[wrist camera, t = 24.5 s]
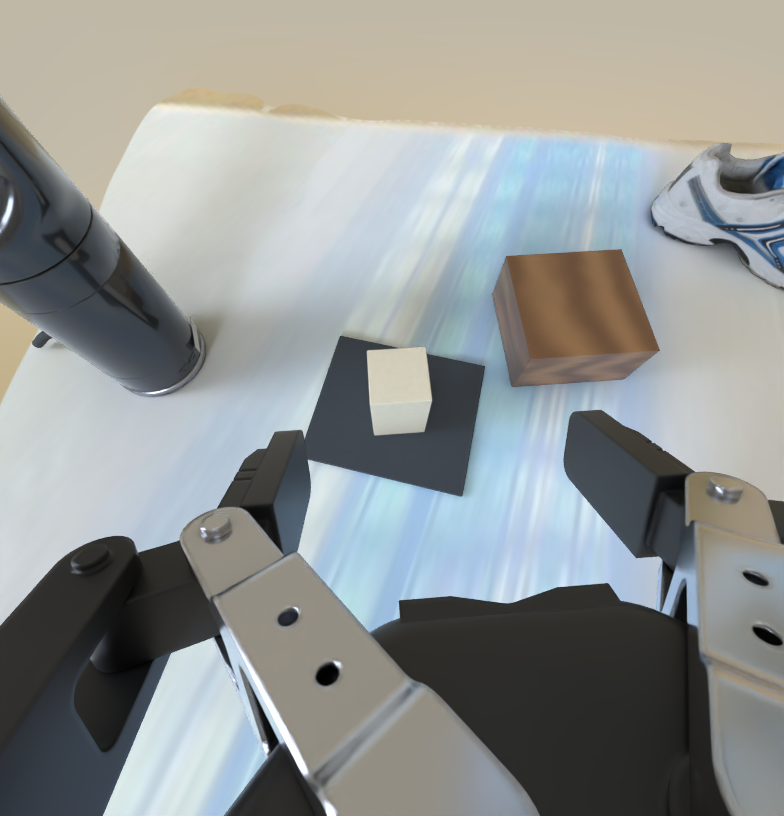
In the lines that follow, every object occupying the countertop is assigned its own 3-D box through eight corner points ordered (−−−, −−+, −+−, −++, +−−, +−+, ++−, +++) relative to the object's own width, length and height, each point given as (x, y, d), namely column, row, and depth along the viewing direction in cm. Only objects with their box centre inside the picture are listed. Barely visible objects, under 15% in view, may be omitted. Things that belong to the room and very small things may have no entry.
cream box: (374, 435, 38) (369, 404, 31) (371, 389, 40) (366, 350, 33) (424, 432, 38) (432, 400, 31) (419, 386, 40) (425, 346, 33)
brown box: (511, 387, 41) (530, 359, 35) (492, 293, 45) (506, 255, 40) (623, 379, 41) (660, 350, 36) (593, 287, 46) (621, 249, 40)
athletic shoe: (843, 312, 44) (984, 207, 34) (636, 248, 48) (709, 137, 38) (825, 265, 49) (942, 163, 40) (641, 212, 53) (706, 107, 44)
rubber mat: (299, 457, 38) (298, 456, 38) (340, 337, 43) (340, 335, 43) (461, 496, 36) (462, 496, 36) (484, 367, 42) (484, 366, 41)
